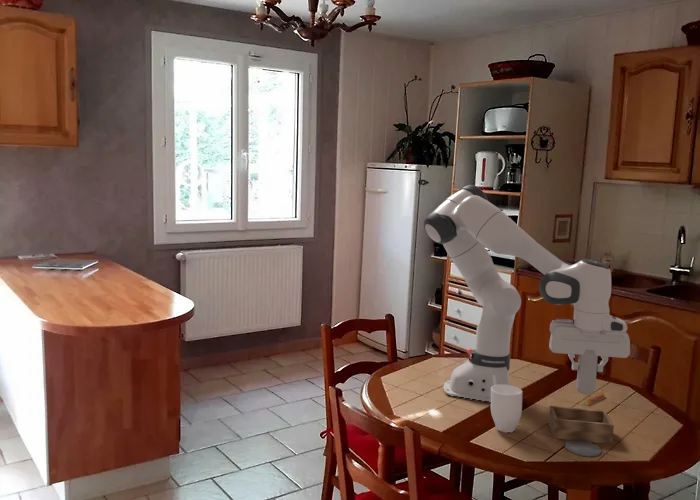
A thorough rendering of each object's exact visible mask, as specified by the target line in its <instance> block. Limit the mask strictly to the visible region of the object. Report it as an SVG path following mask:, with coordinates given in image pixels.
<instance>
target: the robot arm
mask: <svg viewBox="0 0 700 500" xmlns="http://www.w3.org/2000/svg"><path fill="white" fill-rule="evenodd" d="M423 227H424V228H423V229H424V231H425V233H426V235H427V236H428V237H429V238H430V239H431V240H432V241H433V242H435V243H437V244H440V245H443V248H444V249H445V251H446V253H447V254H448V257H449V258H450V259H451V261H452V262H453V264H454V265H455V266H456V268H457V270H458V272H459V273H460V274H461V276H462V278H463V279H464V281H465V284H466V285H467V287H468V289H469V290H470V292H471V294H472V296H473V297H474V299H475V300H476V302H477V303H478V304H479V305H480V306H482V311H481V313H482V314H481V317H480V320H479V323H478V325H477V327H476V334H475V335H476V336H475V349H473V348H471V347H470V348H469V347H468V349H467V354H468V360H467V361H465V362H464V363H462V364H461V365H459V366H457V367H455V368H454V369H453V371H452V373H451V376H450V379H449V380H447V381H445V382H444V383H443V388H442V390H443V389H444V391H445V392H446V393H447V394H449V395H451V396H450V397H453V396H458V397H457V398H459V397H464V398H463V399H465V398H470V399H469V400H472V399H476V400H475V401H478V400H482V401H481V402H484V401H489V402H488V403H490V402H491V387H492V386H494V385H510V378H509V377H510V375H509V371H510V367H511V354H510V345H511V344H510V343H511V333H512V328H513V324H514V320H515V318H516V317H515V316H516V314H517V312H518V311H519V310H520V309H521V305H522V298H521V295H520V292H519V291H518V290H517V288H516V286H514V285H512V284H511V283H509V282H507V281H505V280H504V279H503V277H501V276H500V274H499V272H498V270H497V268H496V265H495V264H494V262H493V258H492V256H491V255H490V254H489V252H488V250H489V251H491V252H492V253H494V254H497V255H506V256H512V257H517V258H519V259H522V260H524V261H526V262H527V263H529V264H530V265H531V266H532V267H533V268H535V269H536V270H538V271H539V272H540V273H541V274H543V275H542V276H541V278H540V279H539V283H538V290H539V294H540V296H541V298H542V299H543V300H544V301H546V302H547V303H548V304H551V305H555V306H562V305H573V318H572V319H571V318H570V319H569V318H564V319H563V318H555V319H554V320H552V321H551V322H550V324H549V333H550V338H549V345H548V346H549V350H550V351H551V352H552V353H553V354H563V355H565V354H566V355H567V356H568V358H569V360H570V362H571V370H572V371H578V367H579V364H578V362H575V360H574V359H575V358H576V355H578V356H579V355H583V354H584V352H586V351H585V350H587V351H595V352H594V353H596V356H598V357H600V358H601V359H602V360H601V361H600V363H597V373H603V372H604V367H605V365H606V364H607V363H608V361H609V358H618V359H619V358H623V359H626V358H628V357H629V356H631V355H630V354H631V341H630V336H629V334H628V333H627V331H628V325H627V323H626V322H625V321H624V320H622V319H621V318H619V317H616V316H613V315H611V314H610V306H609V303H610V299H611V297H612V296H611V295H612V272H611V269H610V267H609V266H608V265H607V264H606V263H604V262H602V261H599V260H595V259H591V258H583V259H580V261H578V262H576V263H570V262H567V261H566V260H565V261H564V260H562V259H561V258H560V257H558V256H557V255H555V254H554V253H553V251H551V250H550V249H548V248H546V247H545V246H544V245H542V244H541V243H540V242H538V240H535V239H534V238H533V237H532V236H530V235H529V233H527V232H526V231H525V230H524V229H523V228H522V227H520V226H519V225H518V224H517V223H516V222H515V221H514V220H513V219H511V217H509V215H507V214H506V213H505V212H504V211H503V210H501V209H500V208H499V207H497V206H496V205H495V204H493V203H491V202H490V201H489V200H488V197H487V195H486V193H485V192H484V191H483V190H482V189H481V188H480V187H478V186H476V185H473V184H468V185H465V186H463V187H461V188H459V190H458V191H456V192H454V193H452V194H451V195H450V196H448V197H446V199H444V201H443V202H442V203H441V204H439V205H438V206H437V207H436V208H435V209H434V210H433V211H432V212H430V213H429V214H428V215H427V216H426V218H425V219H424V221H423ZM444 391H443V392H444ZM447 394H446V395H447Z"/></svg>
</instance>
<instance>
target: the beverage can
mask: <svg viewBox="0 0 700 500" xmlns="http://www.w3.org/2000/svg"><path fill="white" fill-rule="evenodd" d="M585 351H586V352H584V354H583V355H578V360H577V363H578V364H579V367H578V370H577V372H576V373H577V375H576V387H575V389H576V391H577V392H579V393H581V394H584V395H592V394H593V395H594V393H595V392H596V385H597V384H596V383H597V373H598V372H597V364H598V359H599V356H596V353H594V352H595V351H587V350H585Z"/></svg>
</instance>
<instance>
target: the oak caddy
mask: <svg viewBox="0 0 700 500" xmlns="http://www.w3.org/2000/svg"><path fill="white" fill-rule="evenodd" d="M548 412H549V413H548V426H549V430H550V432H551V435H552V438H553V439H559V440H568V441H570V440H583V441H588V442H591V443H597V444H608V445H613V440H614V426H615V425H614V423H613V421H612V420H611V418H610V417H609V415H608V413H607V411H606V410H599V409H591V408H590V409H587V408H578V407H568V406H557V405H556V406H555V405H549V410H548Z"/></svg>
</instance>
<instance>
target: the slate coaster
mask: <svg viewBox="0 0 700 500" xmlns="http://www.w3.org/2000/svg"><path fill="white" fill-rule="evenodd" d="M564 447H565V449H566V450H567V451H569V452H570V453H572V454H574V455H577V456H582V457H591V458H592V457H598V456H600V455H601V451H602V450H601V448H600V447H599V445H597V444H595V443H594V442H588V441H583V440H568V441H566V442H565V446H564Z"/></svg>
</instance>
